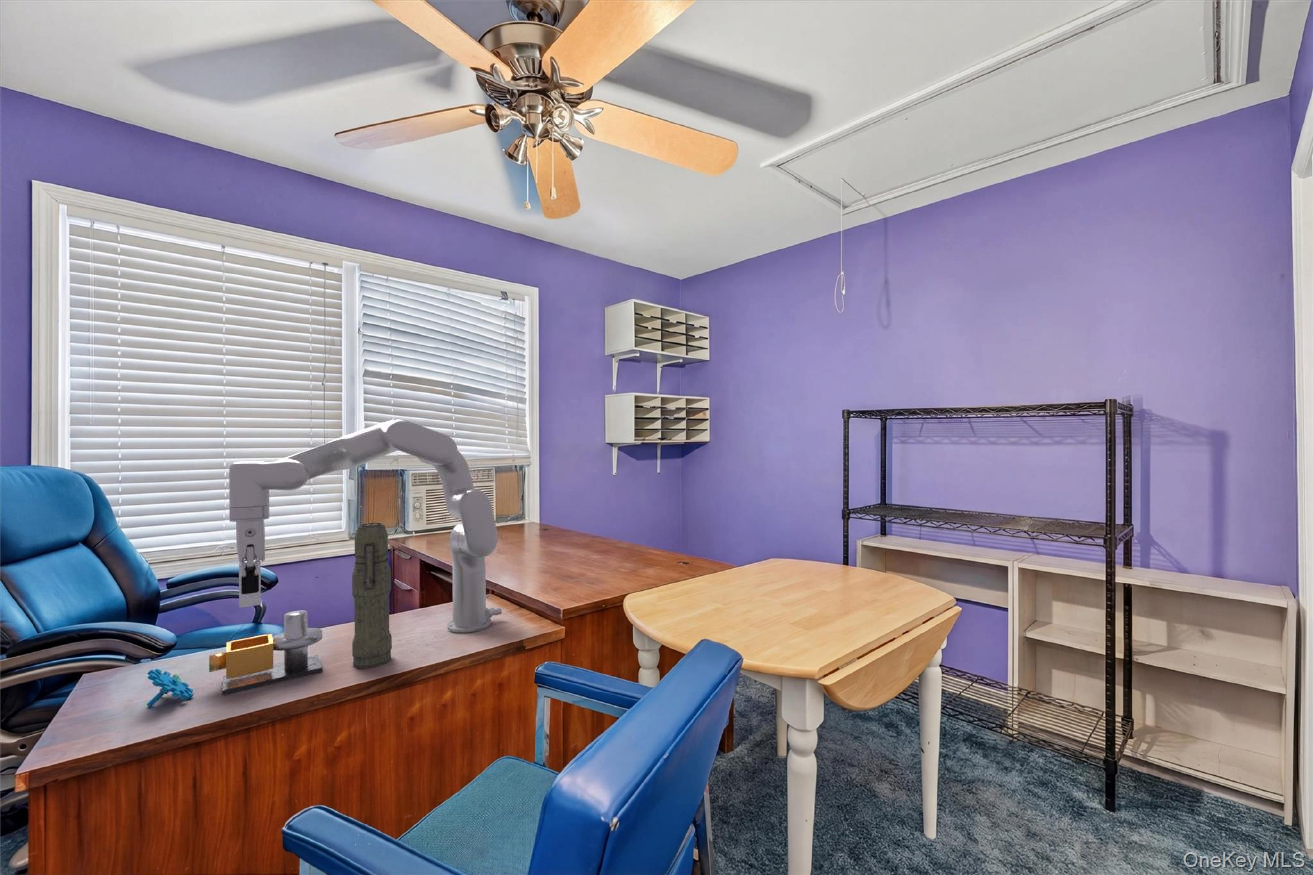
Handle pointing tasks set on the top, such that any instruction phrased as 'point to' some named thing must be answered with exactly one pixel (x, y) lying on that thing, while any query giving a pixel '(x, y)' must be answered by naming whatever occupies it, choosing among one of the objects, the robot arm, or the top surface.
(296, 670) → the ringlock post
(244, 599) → the tall grey block
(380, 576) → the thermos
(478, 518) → the robot arm
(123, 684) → the top surface
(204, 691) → the top surface
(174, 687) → the blue splat shape
